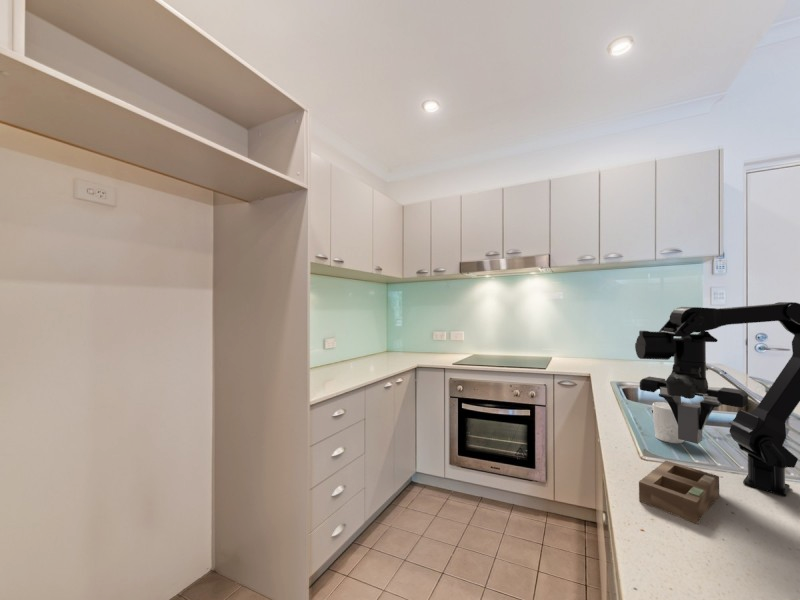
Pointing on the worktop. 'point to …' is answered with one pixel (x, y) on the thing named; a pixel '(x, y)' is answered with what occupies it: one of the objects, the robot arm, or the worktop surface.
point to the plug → (689, 422)
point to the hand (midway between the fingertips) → (690, 427)
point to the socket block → (679, 490)
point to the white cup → (665, 423)
